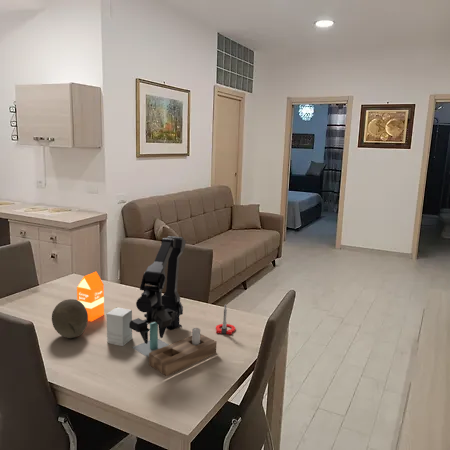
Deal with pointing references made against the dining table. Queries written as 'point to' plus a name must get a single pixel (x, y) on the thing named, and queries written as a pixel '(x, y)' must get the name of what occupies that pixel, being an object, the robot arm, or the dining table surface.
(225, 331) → the tow hook
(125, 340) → the supplement box
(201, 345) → the hole block
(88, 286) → the orange juice
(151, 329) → the teal peg
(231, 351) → the dining table surface
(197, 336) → the grey peg
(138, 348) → the mat
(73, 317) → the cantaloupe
